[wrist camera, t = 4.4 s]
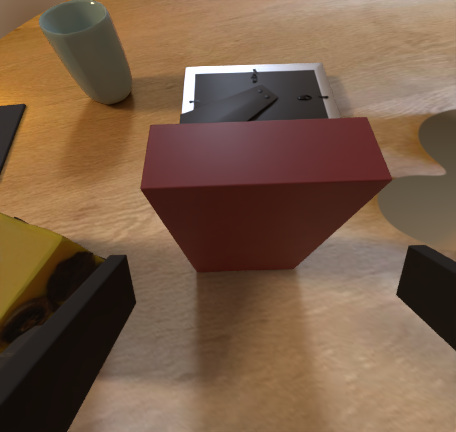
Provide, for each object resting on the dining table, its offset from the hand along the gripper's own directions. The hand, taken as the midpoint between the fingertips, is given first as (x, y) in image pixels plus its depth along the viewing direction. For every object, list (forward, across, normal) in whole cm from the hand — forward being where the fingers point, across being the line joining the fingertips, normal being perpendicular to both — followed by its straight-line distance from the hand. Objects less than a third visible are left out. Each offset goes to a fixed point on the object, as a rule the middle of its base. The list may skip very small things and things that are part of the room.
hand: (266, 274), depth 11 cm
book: (+12, 0, -6) cm, 13 cm away
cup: (+31, -19, +13) cm, 38 cm away
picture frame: (+27, +3, +9) cm, 29 cm away
